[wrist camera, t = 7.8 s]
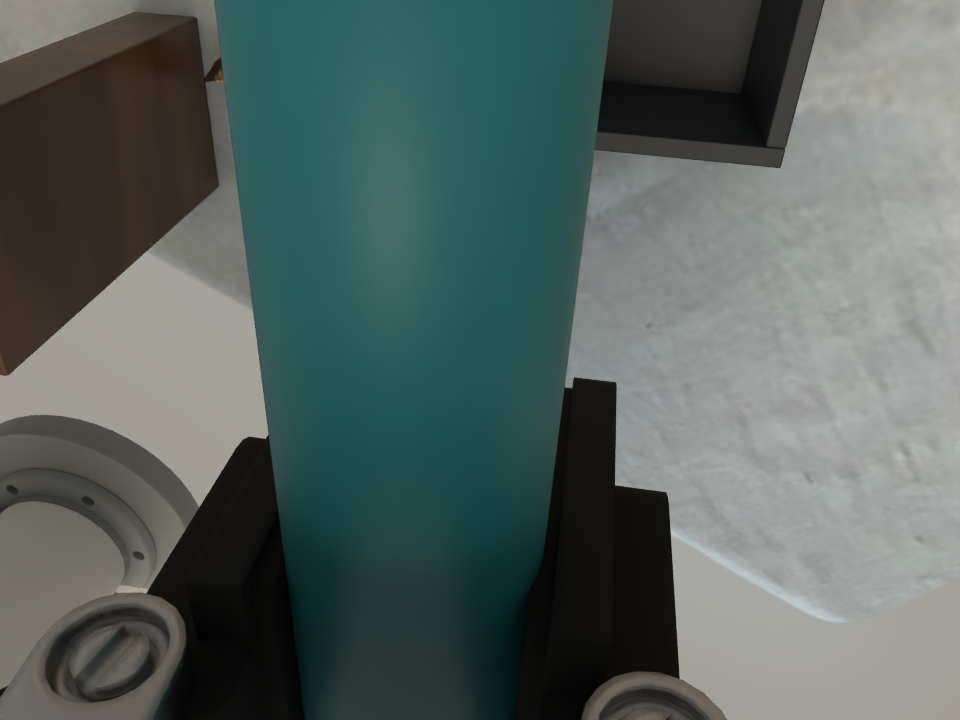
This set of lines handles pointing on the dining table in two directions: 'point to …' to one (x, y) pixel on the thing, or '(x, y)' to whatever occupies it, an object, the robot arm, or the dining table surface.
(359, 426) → the rod
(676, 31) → the bin
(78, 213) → the stand
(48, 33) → the dining table surface
